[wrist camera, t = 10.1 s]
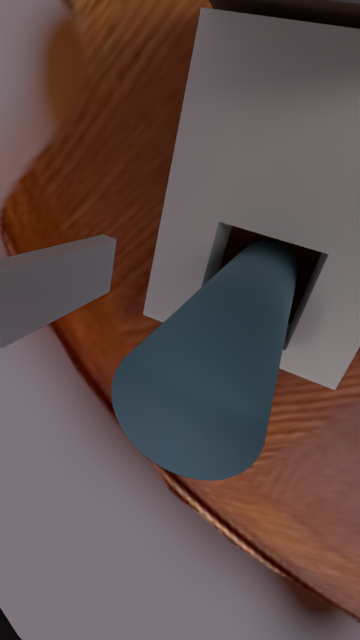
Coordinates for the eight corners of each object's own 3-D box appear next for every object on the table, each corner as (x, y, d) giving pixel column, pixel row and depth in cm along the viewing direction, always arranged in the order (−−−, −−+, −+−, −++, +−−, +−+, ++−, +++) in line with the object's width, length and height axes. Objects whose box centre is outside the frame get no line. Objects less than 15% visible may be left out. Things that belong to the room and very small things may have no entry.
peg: (244, 232, 20) (122, 316, 7) (308, 251, 19) (293, 385, 7) (226, 289, 22) (103, 437, 9) (284, 309, 21) (235, 504, 8)
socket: (224, 42, 17) (201, 7, 14) (476, 83, 14) (527, 51, 11) (167, 295, 24) (142, 314, 21) (331, 356, 21) (334, 390, 18)
